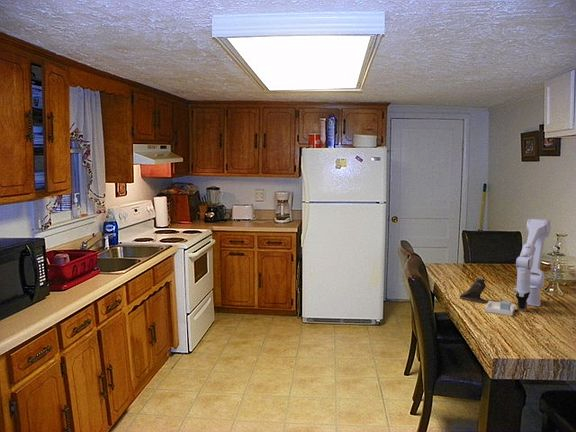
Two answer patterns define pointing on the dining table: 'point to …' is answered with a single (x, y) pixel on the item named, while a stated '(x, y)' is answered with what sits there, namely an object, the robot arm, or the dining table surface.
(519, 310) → the walnut block
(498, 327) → the dining table surface
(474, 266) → the dining table surface
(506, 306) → the gray block
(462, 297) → the sculpture
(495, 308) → the dish
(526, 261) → the robot arm
